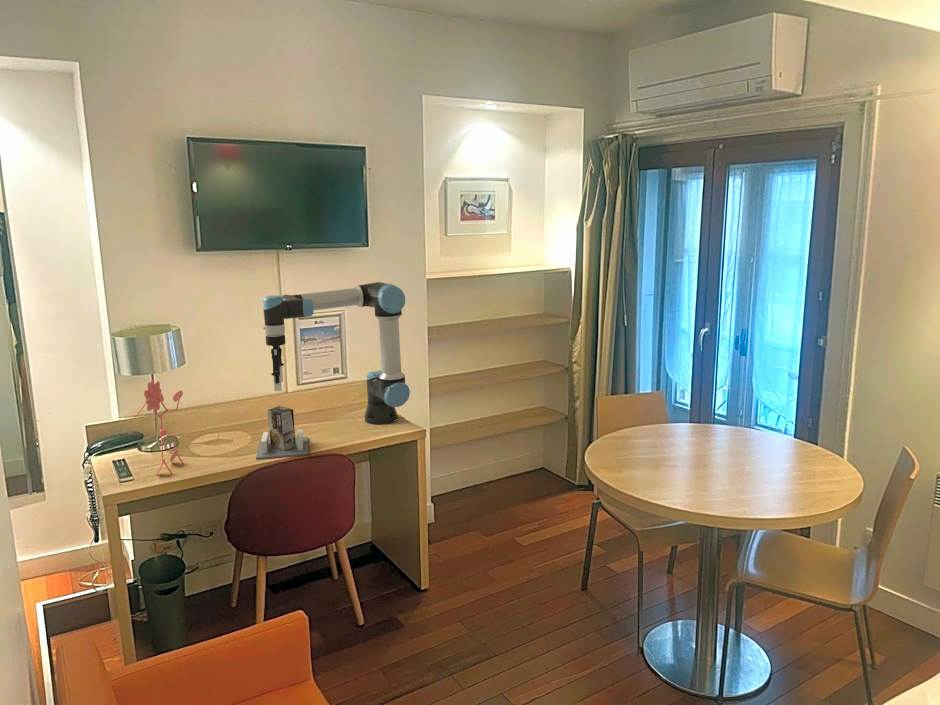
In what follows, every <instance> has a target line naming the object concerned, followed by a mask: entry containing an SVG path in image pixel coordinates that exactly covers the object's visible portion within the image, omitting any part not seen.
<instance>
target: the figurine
mask: <svg viewBox="0 0 940 705" xmlns="http://www.w3.org/2000/svg"><path fill="white" fill-rule="evenodd" d="M143 395H144V398H145V402H144V403H143V404H142V406H141V407H140V408H139V410H138V411H137V412H136V414H135V415H134V418H136V417H137V416H138V415H139V414H140V413H141V412H142V410H143V409H144V408H145V406H147V408H146V410H147V411H148V412H151V411H153V414H156V415H157V417H158V418H159V420H160V430H159V432H158V434H159V435H160V440H161V462H160V464H159V466H158V469H157V470H156V472H155V473H156V474H157V475H158V474H159V473H160V470H161V469H162V467H163V465H165V466H166V468H167V470H168V471H169V473H170V474H171V473H172V474H173V471H172V470H171V469H170V467H169V466H168V464H167V463H166V461H165V459H166V458H165V457H164V446H163V445H164V444H163V442H164V441H163V437H165V436H167V434H169V435H173V440H174V441H173V443H174V451H173V453H172V455H170V458H169V461H170V462H171V463H173V461H174V460H175V459H176V458H178V459H179V461H180V462H181V464H182V465H185V463H184V461H183V460H182V457H181V456H180V455H179V449H176V433H172V432H168V431H167V430H166V429H165V428H163V418H162V417H163V416H164V415H165V414H166V413H168V412H175V411H178V410H179V409H178V408H179V405H180V400H181V398H182V397H183V395H184V392H183V390H179V391H177V392H176V393H175V394H174V395H173V396H172V400H173V401H174V403H176V402H177V403H176V408H175V409H173V408H172V409H168V408H167V407H166V406H165V404H164V400H165V398H164V395H163V393H162V388H161V382H160V381H159V380H157V381H155V380H153V379H151V380H150V382H147V390H144V391H143ZM161 405H162V406H163V408H164V410H163V412H161V414H159V412H158V411H159V410H160V409H161Z"/></svg>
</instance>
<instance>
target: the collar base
mask: <svg viewBox="0 0 940 705" xmlns="http://www.w3.org/2000/svg"><path fill="white" fill-rule="evenodd" d="M303 430H304V429H300V428H299V429H297V433H296V434H297V435H296V437H295V441H296V447H293V448H290V449H288V450H285V451H284V450H281V449H277V448H274V447H271V441H270V435H269V432H268V431H263V433H262V436H261V440H259V444H258V446H257V453H256V456H255V460H266V459H278V458H289V457H299V456H300V457H301V456H308V455H309V436H304V431H303Z"/></svg>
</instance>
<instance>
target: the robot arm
mask: <svg viewBox="0 0 940 705" xmlns="http://www.w3.org/2000/svg"><path fill="white" fill-rule="evenodd" d="M262 303H263V304H262V305H263V306H262V310H263V319H264V326H263V328H262V329H263V330H264V331H265V335H266V336H265V344H266V346H268V347H269V346H270V347H272V348H271V349H270V354H271V360H272V372H271V376H273V389H274V392H281V391H282V383H284V376H283V367H284V363H283V361H282V356H283V355H282V354H283V353H282V350H283V349H282V348H281V346H283V345H285V344H286V343H287V342H286V335H285V333H286V330H285V329H286V328H285V320H289V319H290V320H291V319H302V318H309V317H312V316H313V315H314V311H319V310H327V309H334V308H335V309H336V308H343V307H352V306H357V307H359V308H362V307H364V308H365V307H366V308H367V307H369V308H373V309H374V316H375V318H376V319H378V329H379V330H378V332H379V345H380V349H379V350H380V362H381V364H380V365H381V370H374V371H370V372H368V373H367V374H366V390H367V392H366V393H367V405H366V410H365V413H364V422H365V423H368V424H371V425H385V424H384V423H387V424H390V423H389V422H391V423H393V422H392V421H394V420H396V419H397V420H398V411H397V409H396V408H398V407H399V408H400V407H402V406H404V405H405V404H406V403H407V401H408V400H409V398H410V394H411V390H410V387H409V386H408V385H407V383H406V375H405V373H404V372H402V364H401V361H402V360H401V358H402V357H401V343H400V340H401V339H400V323H399V322H400V321H399V319H400V317H402V315H403V313H402V310H403V309H404V307H405V305H406V295H405V293H404V291H403V290H402V289H401V288H400V287H398V286H397V285H395V284H392V283H384V282H380V281H377V282H371V283H365V284H358V285H355V287H353V288H343V289H342V288H341V289H334V290H325V291H317V292H307V293H300V294H283V295H267V296H265V297H263V298H262ZM397 420H396V421H397ZM394 422H395V421H394Z"/></svg>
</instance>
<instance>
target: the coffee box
mask: <svg viewBox="0 0 940 705" xmlns="http://www.w3.org/2000/svg"><path fill="white" fill-rule="evenodd" d="M294 415H295V414H294V409H293V408H289V407H285V406H280V405H279V406H275V407H272V408H269V409H267V418H268V420H267V422H268V429H269V440H270V441H271V447H274V448H277V449H281V450H284V451H285V450H288V449H290V448H293V447H296V441H295V438H296V431H295V419H294V418H295V416H294Z"/></svg>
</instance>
